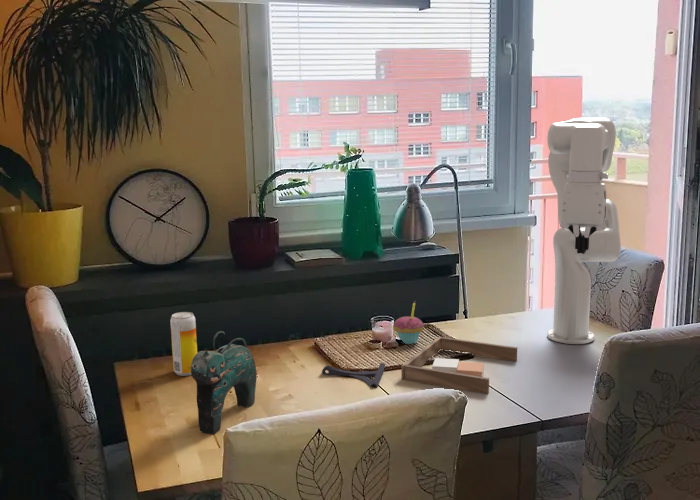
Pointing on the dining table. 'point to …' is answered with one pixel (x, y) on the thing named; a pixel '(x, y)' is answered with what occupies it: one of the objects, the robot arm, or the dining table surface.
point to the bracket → (358, 374)
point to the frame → (450, 379)
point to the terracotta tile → (471, 368)
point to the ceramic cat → (222, 381)
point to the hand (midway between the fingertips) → (581, 252)
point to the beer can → (183, 342)
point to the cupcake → (408, 328)
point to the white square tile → (446, 364)
